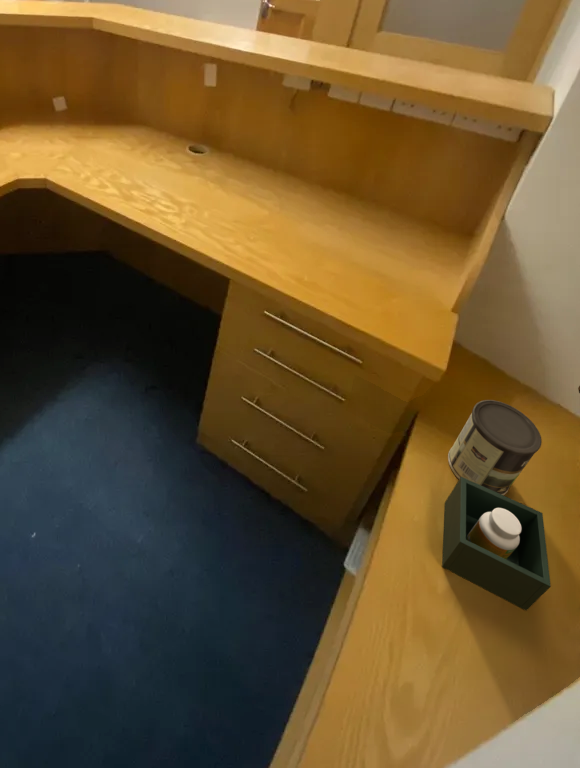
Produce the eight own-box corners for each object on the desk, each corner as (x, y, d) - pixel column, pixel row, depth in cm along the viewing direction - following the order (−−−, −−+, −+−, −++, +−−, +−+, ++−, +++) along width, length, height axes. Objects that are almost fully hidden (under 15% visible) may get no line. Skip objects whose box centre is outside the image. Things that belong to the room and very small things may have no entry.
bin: (520, 538, 87) (542, 512, 82) (526, 611, 78) (550, 586, 74) (444, 502, 92) (461, 476, 87) (441, 566, 83) (460, 541, 78)
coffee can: (511, 464, 98) (543, 420, 90) (506, 509, 91) (540, 465, 83) (451, 433, 103) (477, 389, 96) (442, 474, 96) (469, 430, 89)
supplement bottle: (496, 577, 81) (521, 548, 76) (460, 548, 85) (482, 519, 80) (506, 551, 84) (531, 522, 79) (471, 525, 88) (493, 495, 83)
